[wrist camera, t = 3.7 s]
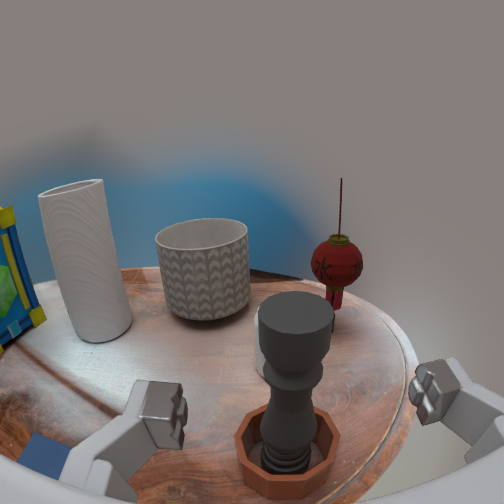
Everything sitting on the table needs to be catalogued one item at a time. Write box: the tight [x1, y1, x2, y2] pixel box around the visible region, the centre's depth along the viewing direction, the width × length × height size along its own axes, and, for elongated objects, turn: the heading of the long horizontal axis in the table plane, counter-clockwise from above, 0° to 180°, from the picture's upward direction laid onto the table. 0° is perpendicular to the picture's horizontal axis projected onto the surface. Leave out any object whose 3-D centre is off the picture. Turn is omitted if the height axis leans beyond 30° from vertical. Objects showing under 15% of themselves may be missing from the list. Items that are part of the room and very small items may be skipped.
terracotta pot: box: [234, 404, 340, 500], centre depth 30 cm, size 12×12×7 cm
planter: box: [155, 218, 251, 320], centre depth 64 cm, size 19×19×18 cm
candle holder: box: [258, 291, 334, 475], centre depth 27 cm, size 6×6×25 cm
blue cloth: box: [17, 432, 73, 480], centre depth 25 cm, size 12×14×1 cm
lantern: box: [311, 178, 363, 333], centre depth 52 cm, size 10×10×30 cm
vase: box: [38, 179, 132, 342], centre depth 55 cm, size 14×14×32 cm
